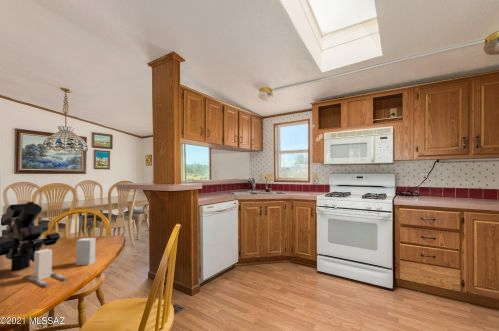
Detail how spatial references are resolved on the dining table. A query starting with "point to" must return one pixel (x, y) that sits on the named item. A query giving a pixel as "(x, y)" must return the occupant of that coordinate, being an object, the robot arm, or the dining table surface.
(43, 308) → the dining table surface
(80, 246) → the skincare box
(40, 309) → the dining table surface
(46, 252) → the slider block
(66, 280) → the track
